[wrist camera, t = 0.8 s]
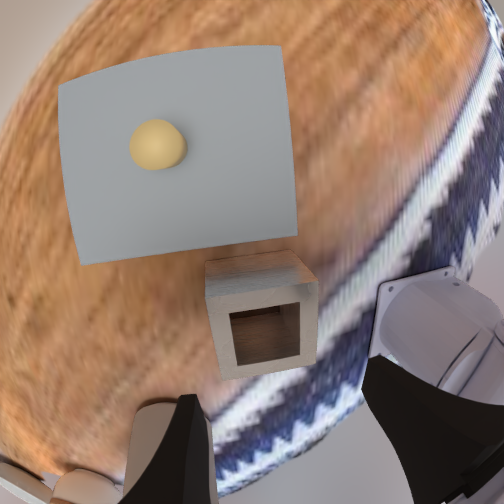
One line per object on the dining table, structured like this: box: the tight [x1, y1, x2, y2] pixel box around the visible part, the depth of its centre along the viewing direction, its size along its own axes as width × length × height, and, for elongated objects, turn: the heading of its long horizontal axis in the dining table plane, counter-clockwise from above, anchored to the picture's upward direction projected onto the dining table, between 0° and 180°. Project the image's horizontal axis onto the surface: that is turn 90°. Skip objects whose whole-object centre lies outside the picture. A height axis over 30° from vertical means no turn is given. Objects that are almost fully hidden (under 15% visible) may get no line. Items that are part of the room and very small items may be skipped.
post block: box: [58, 45, 298, 266], centre depth 13 cm, size 14×12×5 cm
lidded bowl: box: [50, 469, 123, 504], centre depth 21 cm, size 13×13×11 cm
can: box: [123, 402, 219, 504], centre depth 16 cm, size 8×8×12 cm
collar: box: [205, 249, 319, 381], centre depth 16 cm, size 6×6×5 cm
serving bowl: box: [0, 462, 53, 504], centre depth 24 cm, size 21×21×7 cm
